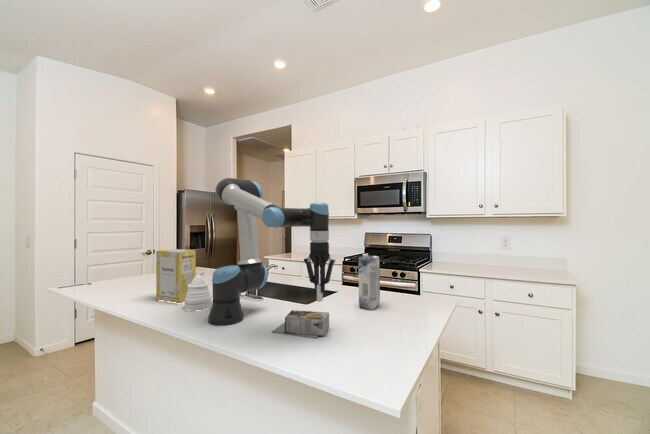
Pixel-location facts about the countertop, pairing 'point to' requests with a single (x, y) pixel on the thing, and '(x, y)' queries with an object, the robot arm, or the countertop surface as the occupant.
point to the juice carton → (369, 282)
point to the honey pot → (198, 294)
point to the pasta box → (174, 274)
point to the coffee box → (307, 322)
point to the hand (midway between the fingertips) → (319, 300)
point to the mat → (282, 331)
